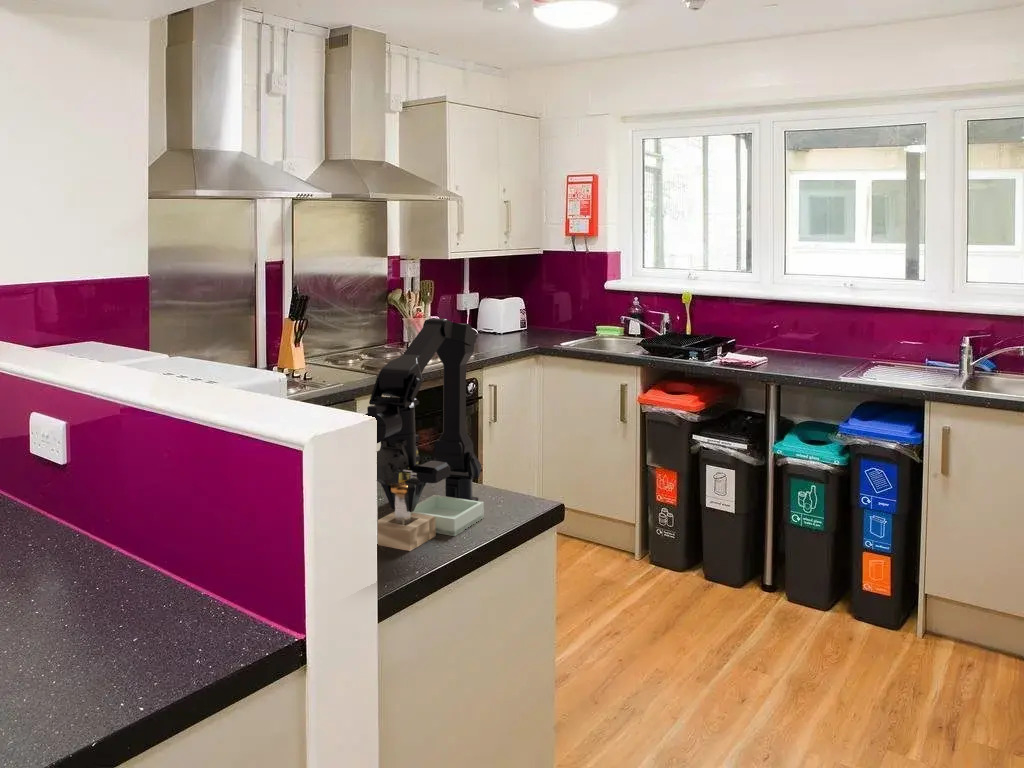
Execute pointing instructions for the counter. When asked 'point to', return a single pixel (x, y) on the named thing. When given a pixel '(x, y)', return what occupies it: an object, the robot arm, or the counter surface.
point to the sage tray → (451, 513)
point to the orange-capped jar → (401, 503)
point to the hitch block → (406, 531)
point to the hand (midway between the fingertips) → (402, 510)
